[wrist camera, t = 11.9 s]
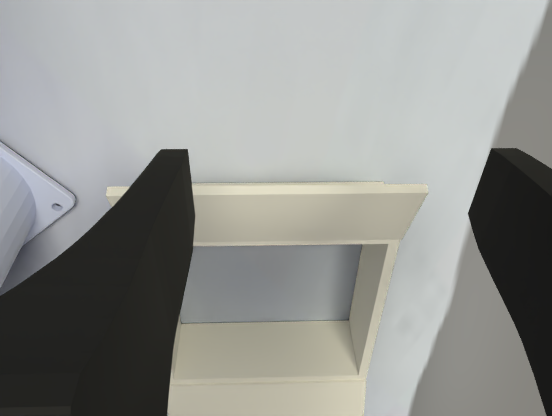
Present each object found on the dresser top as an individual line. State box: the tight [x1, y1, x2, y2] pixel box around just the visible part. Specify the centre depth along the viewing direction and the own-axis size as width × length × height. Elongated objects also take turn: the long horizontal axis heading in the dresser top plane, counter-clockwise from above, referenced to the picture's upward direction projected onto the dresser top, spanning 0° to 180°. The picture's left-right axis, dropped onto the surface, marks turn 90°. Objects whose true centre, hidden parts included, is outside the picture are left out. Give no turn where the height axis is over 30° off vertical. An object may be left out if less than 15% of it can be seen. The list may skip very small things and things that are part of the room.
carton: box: [106, 182, 428, 416], centre depth 27 cm, size 20×12×6 cm, turn 179°
